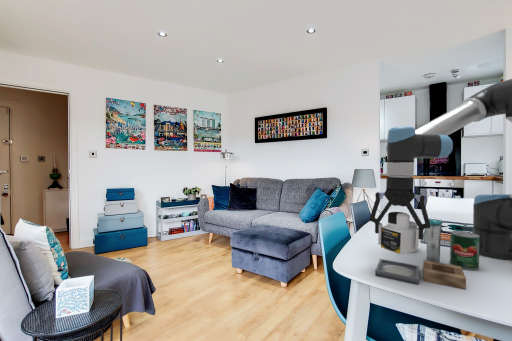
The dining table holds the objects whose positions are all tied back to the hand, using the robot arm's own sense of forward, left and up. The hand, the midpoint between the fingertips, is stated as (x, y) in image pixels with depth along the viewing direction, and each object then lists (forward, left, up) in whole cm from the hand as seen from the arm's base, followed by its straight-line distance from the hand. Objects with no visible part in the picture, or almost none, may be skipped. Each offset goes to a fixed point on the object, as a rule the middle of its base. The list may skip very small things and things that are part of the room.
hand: (397, 246), depth 84 cm
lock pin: (-10, -17, -9) cm, 22 cm away
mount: (-12, -3, -9) cm, 15 cm away
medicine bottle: (0, 0, -1) cm, 1 cm away
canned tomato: (-19, -19, -9) cm, 28 cm away
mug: (+1, -28, -9) cm, 29 cm away
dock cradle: (0, 0, -9) cm, 9 cm away
